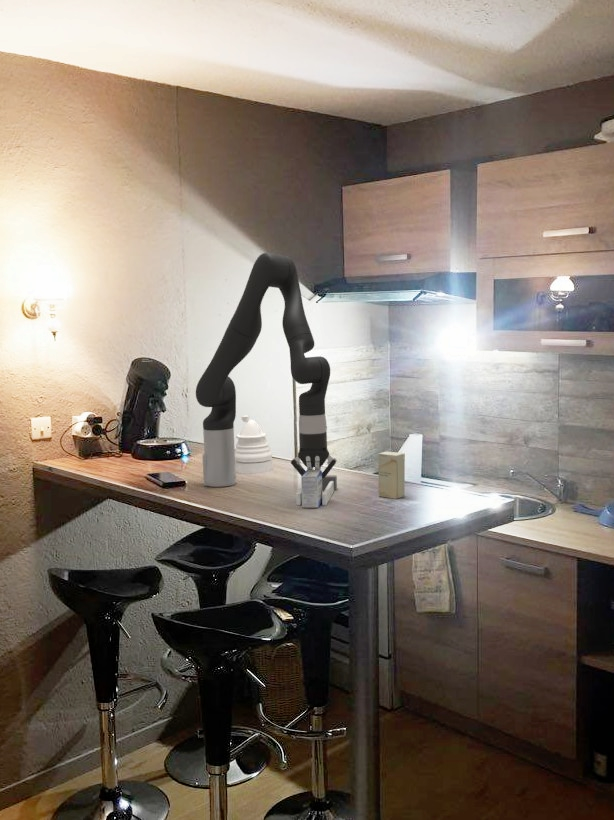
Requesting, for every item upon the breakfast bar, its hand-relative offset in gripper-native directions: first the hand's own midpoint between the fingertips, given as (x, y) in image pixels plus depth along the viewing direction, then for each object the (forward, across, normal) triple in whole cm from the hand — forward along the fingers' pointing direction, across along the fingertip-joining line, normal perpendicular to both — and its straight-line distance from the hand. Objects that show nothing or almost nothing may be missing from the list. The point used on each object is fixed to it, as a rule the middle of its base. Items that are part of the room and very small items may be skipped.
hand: (314, 492), depth 231 cm
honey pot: (+3, -27, +45) cm, 52 cm away
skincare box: (+2, +21, +5) cm, 22 cm away
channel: (+2, 0, +5) cm, 5 cm away
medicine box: (+2, 0, -5) cm, 5 cm away
